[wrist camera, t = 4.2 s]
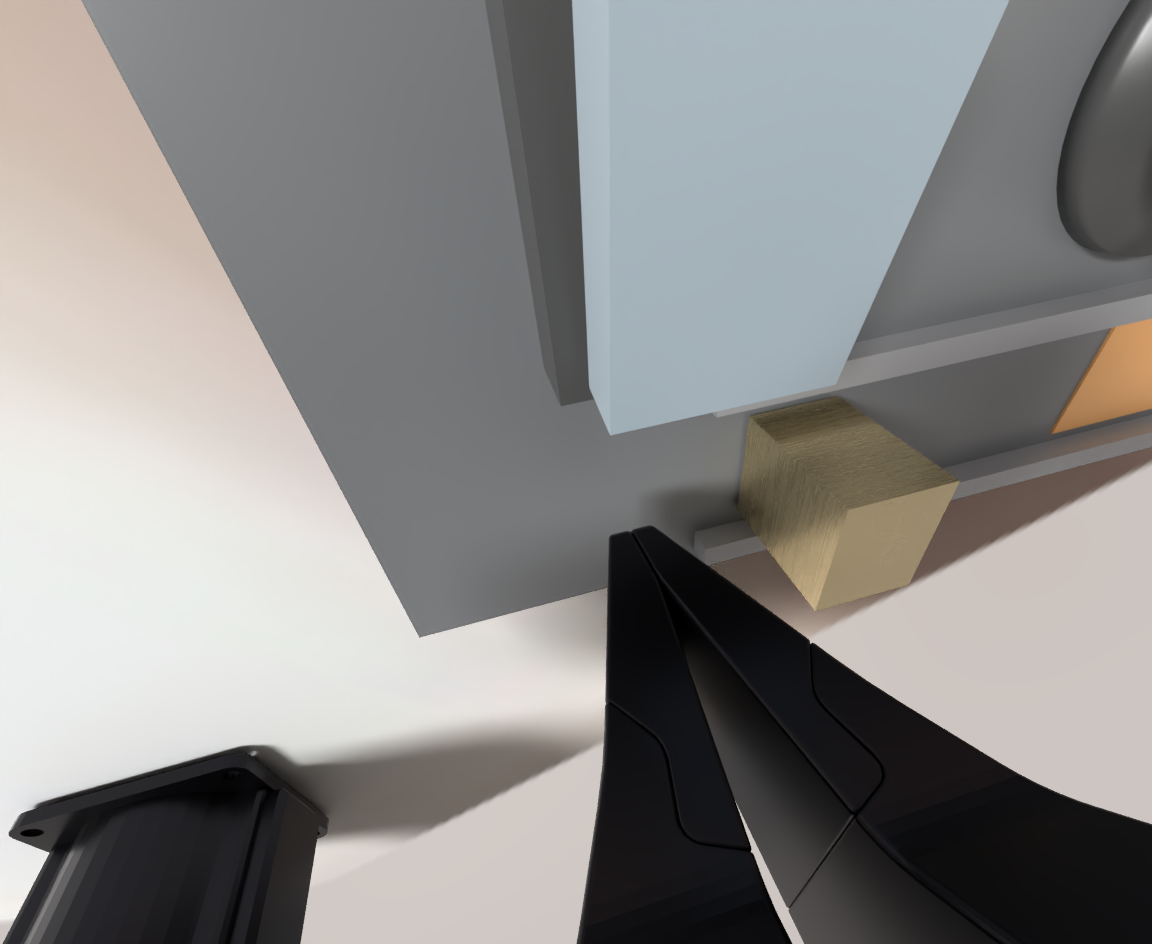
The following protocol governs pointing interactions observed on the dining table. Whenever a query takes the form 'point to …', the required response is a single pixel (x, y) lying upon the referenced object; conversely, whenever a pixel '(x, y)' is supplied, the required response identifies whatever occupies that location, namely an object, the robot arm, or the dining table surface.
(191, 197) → the control panel
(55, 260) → the dining table surface
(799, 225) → the rocker switch
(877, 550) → the wood grain cube
